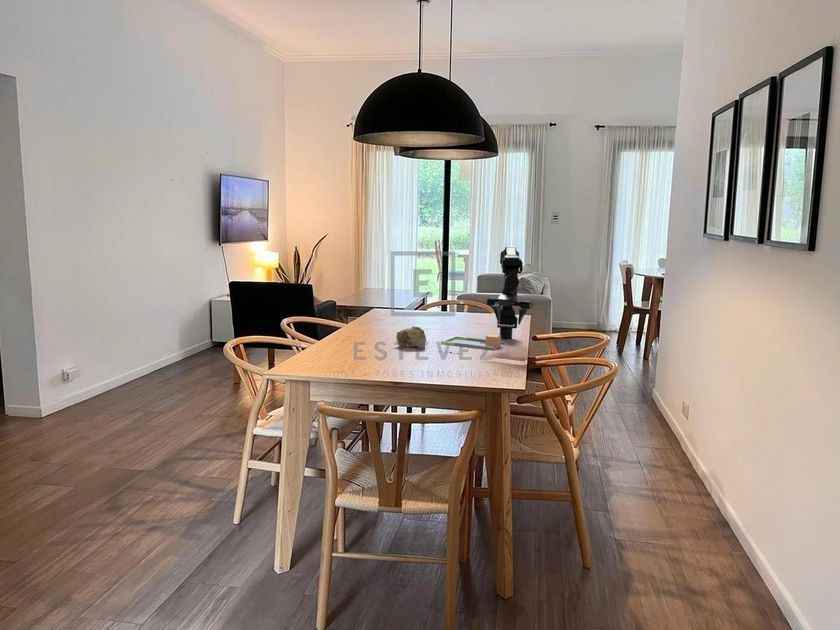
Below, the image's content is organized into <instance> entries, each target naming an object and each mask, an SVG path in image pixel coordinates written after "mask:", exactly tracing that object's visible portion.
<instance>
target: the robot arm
mask: <svg viewBox="0 0 840 630" xmlns="http://www.w3.org/2000/svg"><path fill="white" fill-rule="evenodd" d="M499 256H500V257H499V265H501V266H500V268H501V273H502V274H503V288H502V292H501V293H500V295H499V296H498V297H493V296H492V297H489V298H487V299H486V306H489V308H491V309H492V310H493V311H494V314H495V318H496V322H497V323H496V324H497V325H496V328H498V329H499V335H501V340H502V339H503V340H515V338H513V329H517V328H518V325H519V326H520V325H521V323H522V321H523V318H524V317H525V315H526V313H527V311H529V310H531V309H533V308H534V302H533V301H532V300H526V299H525V300H524V299H523V300H521V301H519V299H518V292H519V288H518V286H520V285H519V284H520V280H519V275H520V274H522V272H524V271H523V270H524V269H523V262H524V261H522V259H521V257H520V252H519V251H518V250H517V247H516V246H507V245H506V246H505V247H504V249H503V250H502V251H500V255H499ZM513 306H514V307H520V308H518V313H519V314H518V317H517V315H516V311H515V309H514V308H513Z"/></svg>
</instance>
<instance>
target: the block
mask: <svg viewBox="0 0 840 630" xmlns="http://www.w3.org/2000/svg"><path fill="white" fill-rule="evenodd" d="M485 339H486V342H484V344H485V346H490V347H494V348H497V347H499V346H501V341H502V339H501V335H500V334H499V335H498V334H492V333H491V334H488V335H486V336H485ZM501 347H502V346H501ZM499 348H500V347H499ZM497 349H498V348H497Z"/></svg>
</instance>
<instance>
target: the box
mask: <svg viewBox="0 0 840 630" xmlns="http://www.w3.org/2000/svg"><path fill="white" fill-rule="evenodd" d="M485 343H486V338H478V337H477V338H476V337H467V336H460V335H454V336H451V337H449V338H446V339H443V340H441V341H440V345H449V346H457V347H464V348H471V349H473V348H474V349H482V350H489V351H495V350H497V349H498V348H501V347H502V346H504V345H506V341H505V340H504V341H503V340H501V346H499V347H497V348H494V347H490V346H485Z"/></svg>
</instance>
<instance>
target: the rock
mask: <svg viewBox="0 0 840 630" xmlns="http://www.w3.org/2000/svg"><path fill="white" fill-rule="evenodd" d="M396 342H397V345H398V347H401V346H402V348H413V347H414V348H415V347H416V348H418V349H423V350H424V349H426V342H427V337H426V333H425V330H424V329H422V328H421V327H419V326H414V325H413V326H411V328H404V329H402V330H400V331H398V332H396Z"/></svg>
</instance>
